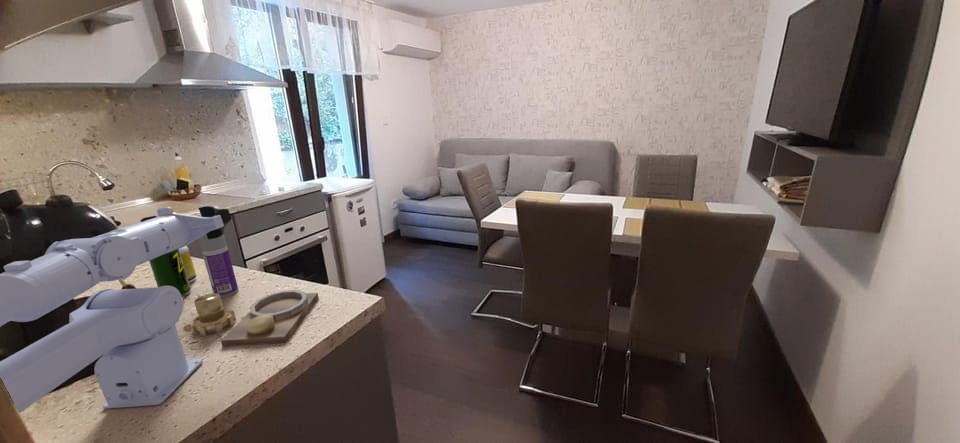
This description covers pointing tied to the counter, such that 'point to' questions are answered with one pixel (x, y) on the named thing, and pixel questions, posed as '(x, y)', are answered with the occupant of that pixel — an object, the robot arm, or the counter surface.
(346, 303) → the counter surface
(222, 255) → the container
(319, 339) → the counter surface
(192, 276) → the pill bottle
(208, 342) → the counter surface
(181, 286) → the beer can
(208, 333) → the planet gear
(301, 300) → the carrier board
